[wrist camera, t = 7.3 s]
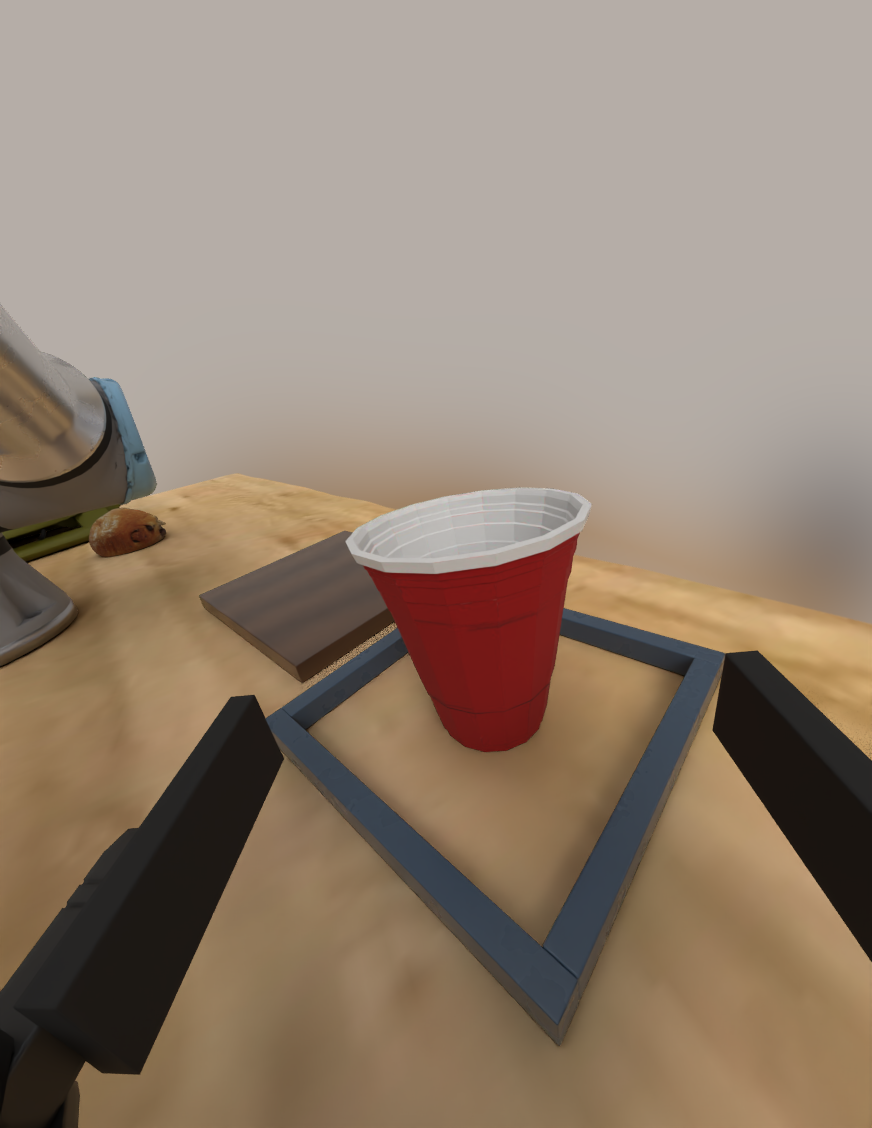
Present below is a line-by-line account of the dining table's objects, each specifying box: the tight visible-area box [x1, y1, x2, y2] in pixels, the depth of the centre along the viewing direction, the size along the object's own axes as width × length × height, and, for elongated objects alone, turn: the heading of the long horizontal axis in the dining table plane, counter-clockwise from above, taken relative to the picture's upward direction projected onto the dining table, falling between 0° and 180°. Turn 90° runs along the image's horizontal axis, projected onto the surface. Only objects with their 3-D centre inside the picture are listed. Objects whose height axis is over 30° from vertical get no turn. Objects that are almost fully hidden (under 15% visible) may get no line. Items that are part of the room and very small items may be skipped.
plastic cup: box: [345, 488, 592, 752], centre depth 21 cm, size 11×11×12 cm
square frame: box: [266, 608, 725, 1046], centre depth 23 cm, size 18×18×2 cm
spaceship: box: [2, 504, 120, 562], centre depth 76 cm, size 35×31×10 cm
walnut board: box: [199, 531, 394, 683], centre depth 40 cm, size 20×18×2 cm
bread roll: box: [89, 508, 166, 557], centre depth 67 cm, size 10×10×8 cm
